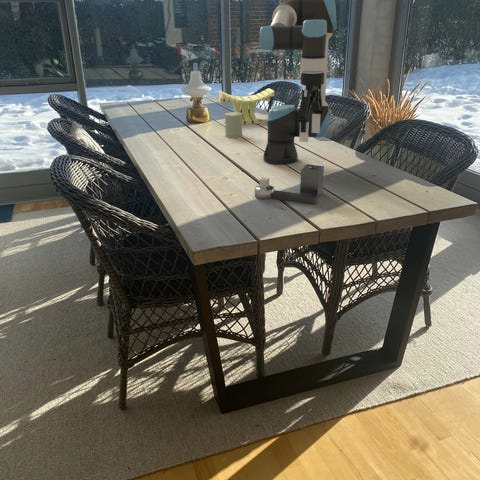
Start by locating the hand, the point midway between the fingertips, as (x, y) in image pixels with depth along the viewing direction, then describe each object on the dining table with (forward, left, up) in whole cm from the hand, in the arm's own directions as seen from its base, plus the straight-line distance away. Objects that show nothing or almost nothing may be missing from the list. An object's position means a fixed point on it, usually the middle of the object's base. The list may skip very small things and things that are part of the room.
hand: (309, 137), depth 167 cm
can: (-71, -64, -21) cm, 98 cm away
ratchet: (+7, -6, -21) cm, 23 cm away
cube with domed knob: (-1, +1, -21) cm, 21 cm away
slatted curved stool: (-107, -73, -21) cm, 131 cm away
